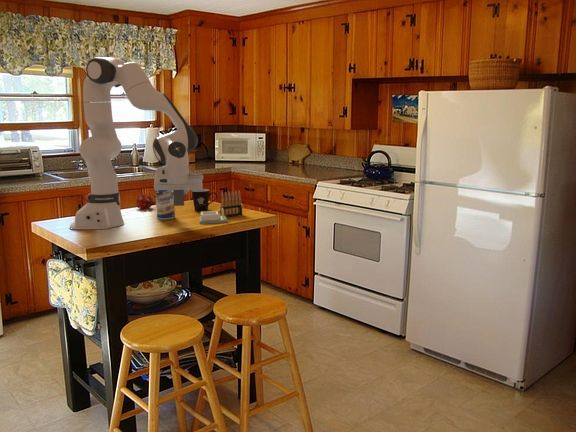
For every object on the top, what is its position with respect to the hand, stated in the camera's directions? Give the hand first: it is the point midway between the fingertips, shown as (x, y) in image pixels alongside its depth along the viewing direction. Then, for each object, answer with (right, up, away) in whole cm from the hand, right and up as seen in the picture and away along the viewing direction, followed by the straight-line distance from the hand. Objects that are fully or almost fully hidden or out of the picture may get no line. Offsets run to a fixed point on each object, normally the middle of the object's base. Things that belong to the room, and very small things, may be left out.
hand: (178, 193), depth 241 cm
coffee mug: (+6, -7, +35) cm, 36 cm away
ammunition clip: (+21, -10, +20) cm, 30 cm away
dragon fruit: (-25, -6, +41) cm, 49 cm away
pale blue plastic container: (+14, -12, +9) cm, 20 cm away
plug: (0, -5, 0) cm, 5 cm away
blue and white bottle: (-9, -11, +17) cm, 22 cm away
